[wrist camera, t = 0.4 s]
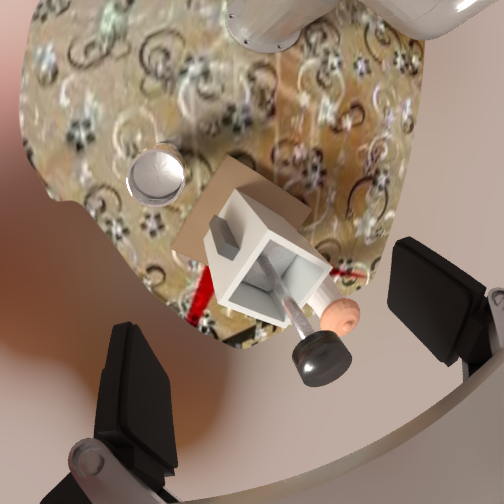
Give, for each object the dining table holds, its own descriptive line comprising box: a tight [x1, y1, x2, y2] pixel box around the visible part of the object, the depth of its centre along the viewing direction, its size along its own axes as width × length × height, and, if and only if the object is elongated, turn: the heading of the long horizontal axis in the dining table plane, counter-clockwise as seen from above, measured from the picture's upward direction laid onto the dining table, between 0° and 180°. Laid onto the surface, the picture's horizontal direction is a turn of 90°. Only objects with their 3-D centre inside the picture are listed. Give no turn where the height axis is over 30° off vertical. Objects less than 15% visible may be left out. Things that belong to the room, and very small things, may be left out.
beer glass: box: [127, 143, 187, 208], centre depth 35 cm, size 7×7×15 cm
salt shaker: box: [307, 274, 360, 337], centre depth 48 cm, size 7×7×19 cm
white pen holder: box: [171, 154, 333, 328], centre depth 40 cm, size 18×18×20 cm
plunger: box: [242, 239, 352, 387], centre depth 29 cm, size 8×8×20 cm
